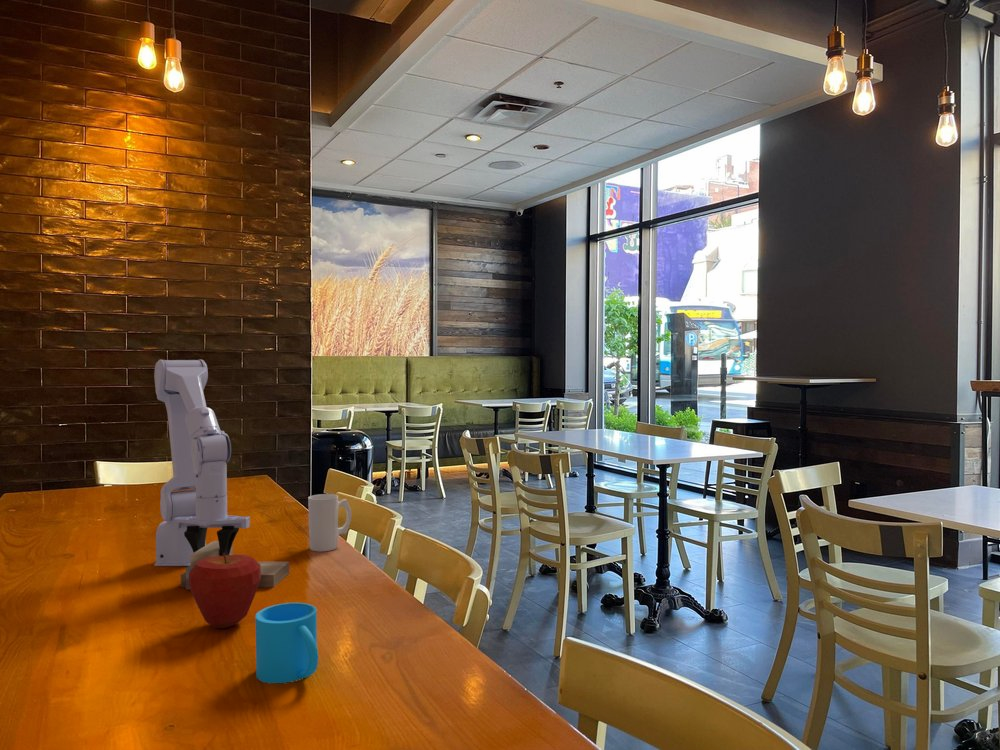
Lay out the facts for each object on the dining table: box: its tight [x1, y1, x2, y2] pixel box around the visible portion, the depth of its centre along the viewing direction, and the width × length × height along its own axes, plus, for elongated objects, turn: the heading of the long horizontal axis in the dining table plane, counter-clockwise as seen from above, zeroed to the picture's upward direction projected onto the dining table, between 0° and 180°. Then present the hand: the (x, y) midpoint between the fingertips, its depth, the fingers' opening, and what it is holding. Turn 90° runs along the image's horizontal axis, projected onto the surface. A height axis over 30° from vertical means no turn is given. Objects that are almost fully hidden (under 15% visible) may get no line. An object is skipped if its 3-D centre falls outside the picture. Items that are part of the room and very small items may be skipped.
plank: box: [180, 561, 290, 588], centre depth 139 cm, size 18×9×2 cm, turn 88°
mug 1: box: [255, 602, 319, 684], centre depth 96 cm, size 12×8×8 cm
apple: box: [189, 553, 261, 629], centre depth 115 cm, size 11×11×12 cm
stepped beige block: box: [185, 540, 234, 590], centre depth 138 cm, size 4×12×6 cm, turn 178°
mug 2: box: [307, 493, 352, 553], centre depth 163 cm, size 10×7×12 cm, turn 120°
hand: (212, 564), depth 139 cm, fingers closed on stepped beige block, 4 cm apart
